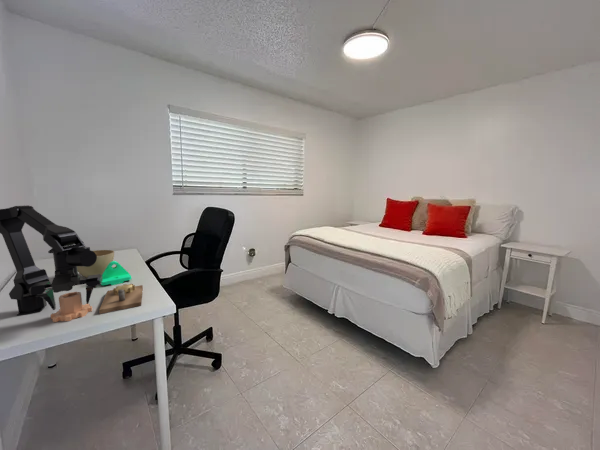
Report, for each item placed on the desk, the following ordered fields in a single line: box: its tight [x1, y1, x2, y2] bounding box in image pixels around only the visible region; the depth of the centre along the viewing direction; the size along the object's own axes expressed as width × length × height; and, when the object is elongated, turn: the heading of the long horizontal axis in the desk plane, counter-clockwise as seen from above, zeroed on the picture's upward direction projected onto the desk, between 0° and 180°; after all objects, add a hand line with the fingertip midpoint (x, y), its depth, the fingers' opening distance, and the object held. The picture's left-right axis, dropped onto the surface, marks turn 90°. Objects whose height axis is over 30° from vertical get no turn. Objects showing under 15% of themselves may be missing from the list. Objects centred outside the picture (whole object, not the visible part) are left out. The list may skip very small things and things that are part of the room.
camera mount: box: [100, 260, 132, 286], centre depth 124 cm, size 12×8×10 cm, turn 133°
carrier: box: [98, 283, 144, 315], centre depth 104 cm, size 13×21×6 cm, turn 31°
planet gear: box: [50, 291, 93, 323], centre depth 91 cm, size 11×11×8 cm
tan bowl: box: [77, 249, 115, 279], centre depth 134 cm, size 18×18×12 cm
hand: (71, 306), depth 91 cm, fingers open, 9 cm apart
